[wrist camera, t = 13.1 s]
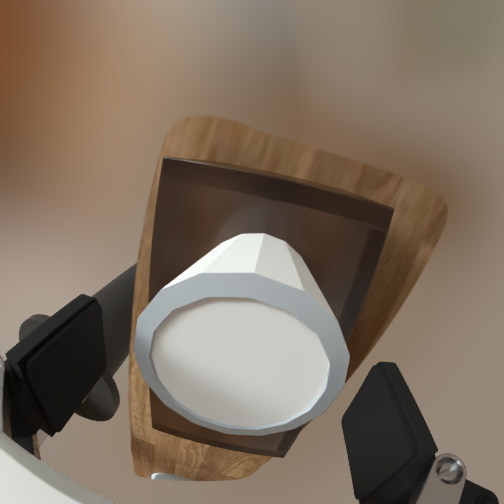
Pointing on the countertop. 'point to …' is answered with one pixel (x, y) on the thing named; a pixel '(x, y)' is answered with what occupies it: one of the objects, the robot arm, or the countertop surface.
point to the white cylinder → (243, 340)
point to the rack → (271, 223)
